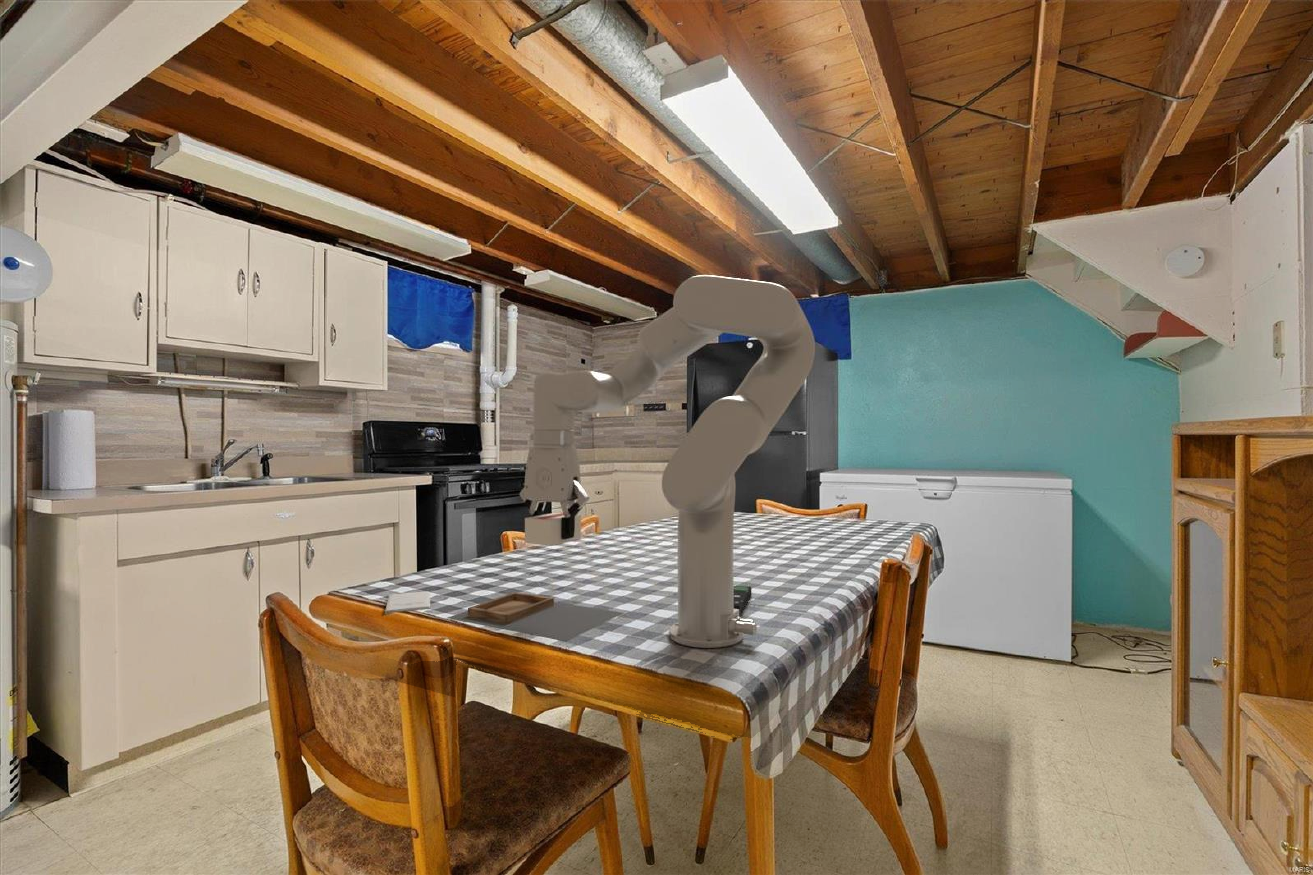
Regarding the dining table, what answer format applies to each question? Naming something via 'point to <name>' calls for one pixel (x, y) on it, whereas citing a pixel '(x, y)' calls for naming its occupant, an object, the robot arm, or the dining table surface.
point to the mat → (552, 621)
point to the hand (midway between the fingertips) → (553, 535)
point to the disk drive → (741, 597)
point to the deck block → (548, 529)
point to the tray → (510, 607)
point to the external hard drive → (408, 602)
